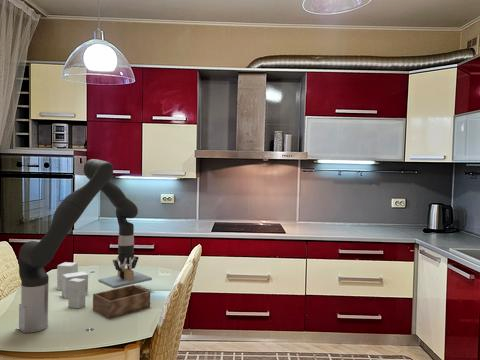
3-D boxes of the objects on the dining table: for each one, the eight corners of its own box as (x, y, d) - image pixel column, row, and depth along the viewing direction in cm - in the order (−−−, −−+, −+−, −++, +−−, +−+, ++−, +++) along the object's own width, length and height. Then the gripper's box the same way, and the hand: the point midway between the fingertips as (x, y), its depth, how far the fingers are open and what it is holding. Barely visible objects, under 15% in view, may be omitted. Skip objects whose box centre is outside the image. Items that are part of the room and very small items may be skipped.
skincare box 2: (85, 305, 175) (86, 279, 175) (79, 308, 171) (79, 281, 171) (74, 303, 177) (74, 277, 177) (67, 307, 173) (68, 280, 172)
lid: (113, 288, 182) (114, 276, 182) (98, 281, 192) (98, 270, 192) (151, 279, 198) (152, 268, 197) (135, 273, 208) (135, 263, 208)
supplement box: (78, 286, 202) (78, 262, 202) (70, 291, 195) (70, 266, 194) (64, 285, 203) (65, 261, 203) (56, 290, 195) (56, 265, 195)
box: (109, 318, 161) (109, 302, 160) (92, 309, 170) (93, 294, 170) (150, 307, 175) (150, 291, 175) (133, 299, 185) (133, 284, 185)
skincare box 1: (65, 299, 183) (65, 277, 182) (61, 295, 188) (62, 274, 187) (88, 295, 189) (88, 273, 189) (83, 291, 194) (84, 270, 194)
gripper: (117, 246, 187) (116, 282, 187) (142, 243, 197) (141, 277, 197) (109, 244, 192) (108, 279, 192) (134, 241, 202) (133, 274, 203)
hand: (125, 277), depth 195 cm, fingers closed on lid, 3 cm apart
